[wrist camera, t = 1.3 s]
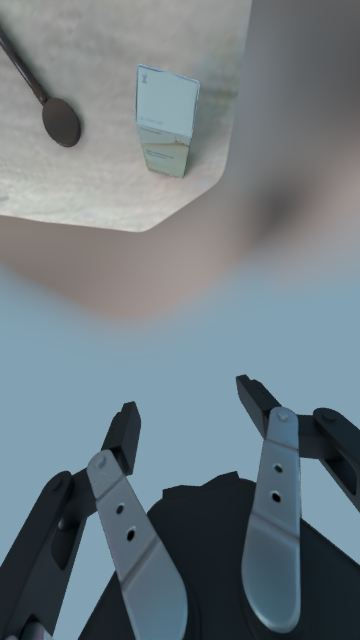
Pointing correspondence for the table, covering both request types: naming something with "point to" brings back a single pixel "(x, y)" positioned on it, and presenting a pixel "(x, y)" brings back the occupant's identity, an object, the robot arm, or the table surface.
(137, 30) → the table surface
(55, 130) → the spoon
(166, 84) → the cosmetic box
